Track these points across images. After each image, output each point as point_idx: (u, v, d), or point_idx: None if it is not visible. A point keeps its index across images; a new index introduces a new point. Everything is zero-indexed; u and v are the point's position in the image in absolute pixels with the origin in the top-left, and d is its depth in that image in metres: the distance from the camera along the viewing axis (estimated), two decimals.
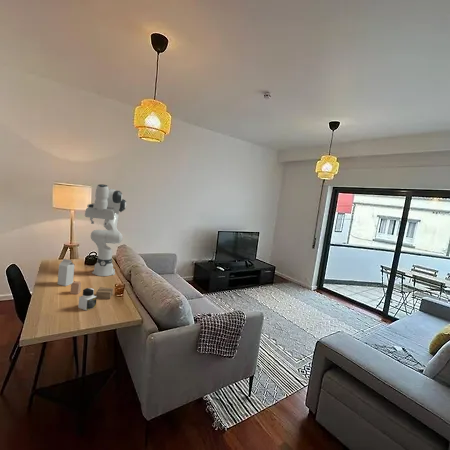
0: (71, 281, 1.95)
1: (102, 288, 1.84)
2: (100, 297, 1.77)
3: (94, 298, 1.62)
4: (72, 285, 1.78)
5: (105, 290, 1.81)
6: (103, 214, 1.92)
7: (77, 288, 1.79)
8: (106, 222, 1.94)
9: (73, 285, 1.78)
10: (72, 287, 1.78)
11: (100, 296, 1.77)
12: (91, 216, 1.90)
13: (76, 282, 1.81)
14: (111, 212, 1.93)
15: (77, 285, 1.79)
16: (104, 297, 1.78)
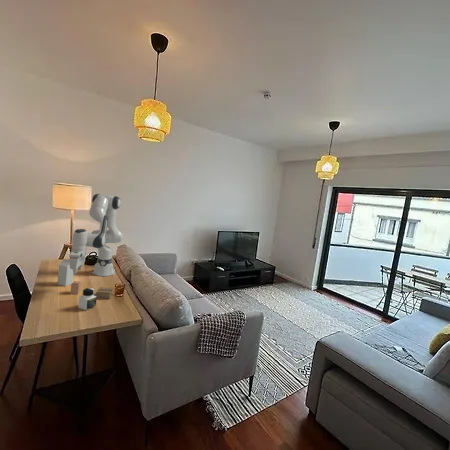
0: (71, 281, 1.95)
1: (102, 288, 1.84)
2: (100, 297, 1.77)
3: (94, 298, 1.62)
4: (72, 285, 1.78)
5: (105, 290, 1.81)
6: (82, 259, 1.82)
7: (77, 288, 1.79)
8: None
9: (73, 285, 1.78)
10: (72, 287, 1.79)
11: (99, 296, 1.77)
12: (78, 266, 1.75)
13: (76, 282, 1.81)
14: (84, 255, 1.87)
15: (77, 285, 1.79)
16: (104, 297, 1.78)
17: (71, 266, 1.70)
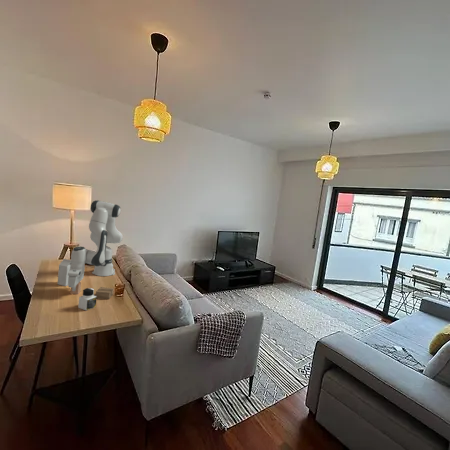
0: None
1: (102, 288, 1.84)
2: (99, 297, 1.77)
3: (94, 298, 1.62)
4: None
5: (105, 290, 1.81)
6: (80, 276, 1.84)
7: (77, 288, 1.79)
8: None
9: None
10: None
11: (99, 296, 1.77)
12: (76, 284, 1.76)
13: None
14: None
15: (77, 285, 1.79)
16: (103, 297, 1.78)
17: (69, 285, 1.71)
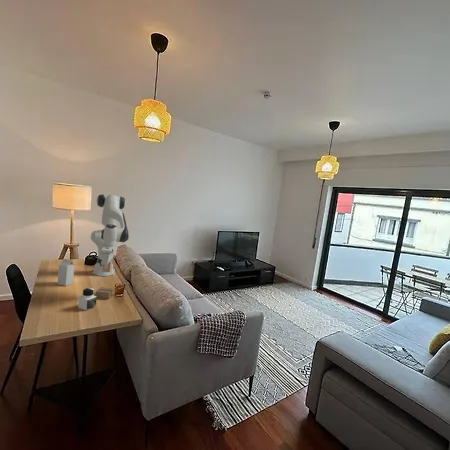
0: (71, 281, 1.95)
1: (103, 288, 1.84)
2: (99, 297, 1.78)
3: (94, 298, 1.62)
4: None
5: (105, 290, 1.81)
6: (111, 255, 1.83)
7: (109, 266, 1.78)
8: None
9: None
10: (104, 265, 1.78)
11: (99, 296, 1.77)
12: (108, 261, 1.75)
13: None
14: None
15: (109, 263, 1.78)
16: (103, 297, 1.78)
17: (103, 261, 1.70)
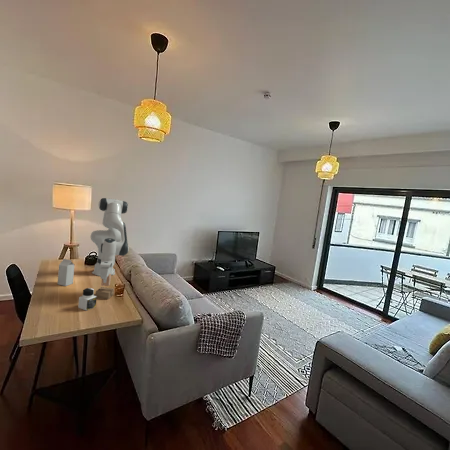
0: (71, 281, 1.95)
1: (103, 288, 1.84)
2: (99, 297, 1.78)
3: (94, 298, 1.62)
4: None
5: (105, 290, 1.81)
6: (110, 268, 1.84)
7: (108, 280, 1.79)
8: None
9: None
10: None
11: (99, 296, 1.78)
12: (107, 275, 1.76)
13: None
14: None
15: (108, 277, 1.79)
16: (103, 297, 1.78)
17: (102, 276, 1.71)
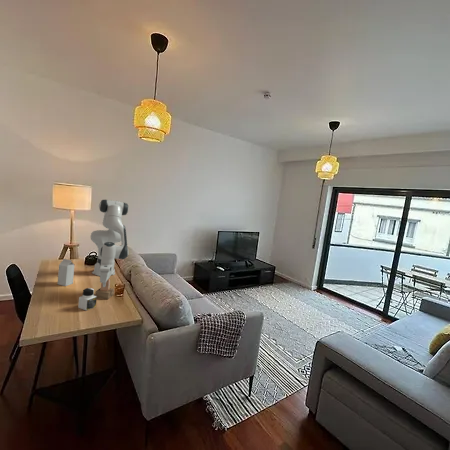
0: (71, 281, 1.95)
1: None
2: (99, 297, 1.78)
3: (94, 298, 1.62)
4: None
5: None
6: (110, 272, 1.84)
7: (107, 285, 1.80)
8: None
9: None
10: (102, 284, 1.79)
11: (98, 296, 1.78)
12: (107, 279, 1.76)
13: None
14: None
15: (107, 282, 1.79)
16: (103, 297, 1.78)
17: (101, 280, 1.71)
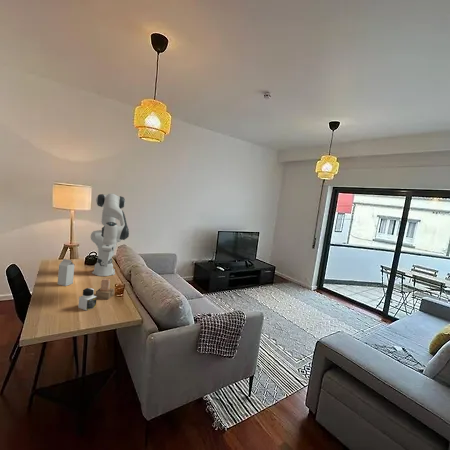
0: (71, 281, 1.95)
1: None
2: (99, 297, 1.78)
3: (94, 298, 1.62)
4: (102, 282, 1.79)
5: None
6: (112, 252, 1.82)
7: (107, 285, 1.80)
8: (110, 260, 1.85)
9: (103, 282, 1.79)
10: (102, 284, 1.79)
11: (99, 296, 1.78)
12: (109, 259, 1.75)
13: (106, 279, 1.81)
14: None
15: (107, 282, 1.79)
16: (103, 297, 1.78)
17: (103, 259, 1.70)
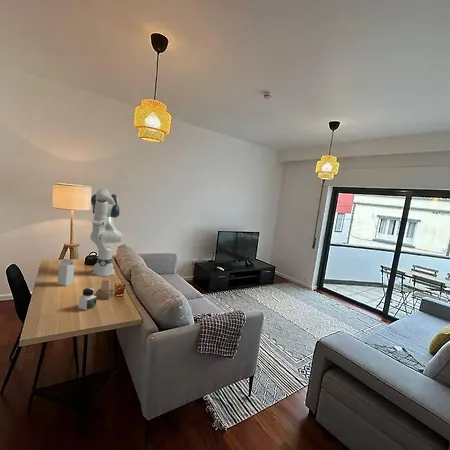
0: (71, 281, 1.95)
1: None
2: (99, 297, 1.78)
3: (94, 298, 1.62)
4: (103, 282, 1.78)
5: None
6: (102, 229, 1.91)
7: (107, 285, 1.79)
8: (101, 236, 1.93)
9: (104, 282, 1.78)
10: (103, 284, 1.78)
11: (99, 296, 1.78)
12: (99, 234, 1.83)
13: (106, 279, 1.81)
14: None
15: (107, 282, 1.79)
16: (103, 297, 1.78)
17: (94, 233, 1.78)
